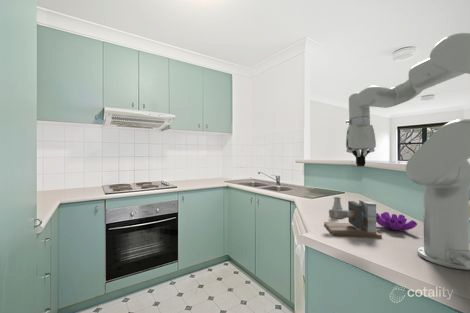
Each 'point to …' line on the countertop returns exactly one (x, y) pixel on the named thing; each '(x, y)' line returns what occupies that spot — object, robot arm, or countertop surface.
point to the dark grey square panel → (355, 214)
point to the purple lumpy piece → (394, 221)
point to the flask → (337, 205)
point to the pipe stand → (348, 228)
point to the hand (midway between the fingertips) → (360, 166)
